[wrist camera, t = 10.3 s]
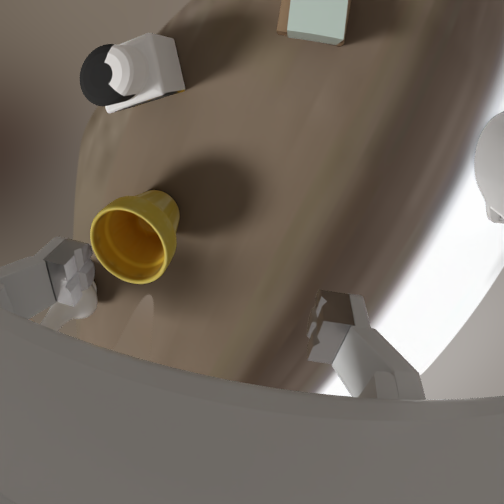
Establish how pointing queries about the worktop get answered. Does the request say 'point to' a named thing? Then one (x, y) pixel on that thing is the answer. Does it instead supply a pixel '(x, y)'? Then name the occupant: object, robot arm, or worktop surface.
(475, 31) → the worktop surface
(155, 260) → the plant pot
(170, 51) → the medicine bottle
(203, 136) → the worktop surface
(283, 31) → the block
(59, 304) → the flower vase
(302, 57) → the worktop surface
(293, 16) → the cube
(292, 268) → the worktop surface
